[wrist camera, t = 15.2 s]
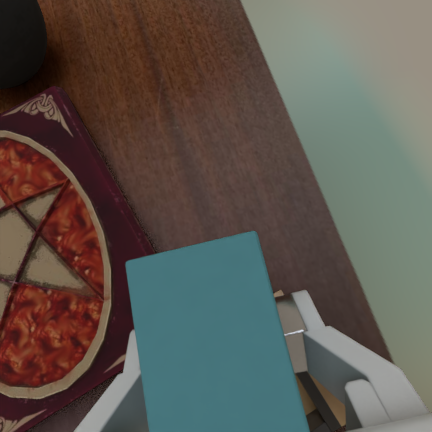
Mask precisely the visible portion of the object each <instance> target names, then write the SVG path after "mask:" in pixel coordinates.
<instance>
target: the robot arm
mask: <svg viewBox="0 0 432 432" xmlns="http://www.w3.org/2000/svg"><path fill="white" fill-rule="evenodd" d="M274 298H275V302H276V305H277V309H278V313H279V317H280V320H281V324H282V328H283V332H284V335H285V339H286V343H287V347H288V350H289V354H290V358H291V362H292V366H293V369H294V373H300V372H305V371H308V373H309V374H310V375H312V376H313V377H314V378H315V379H316V380H317V381H318V382H319V383H320V384H322V385H323V386H324V387H325V388H326V389H327V390H328V391H329V392H330V393H332V394H333V395H334V396H335V397H336V398H337V399H338V400H339V401H340V402H342V403H343V404H344V405H345V414H346V432H432V412H431V413H430V411H429V410H428V409H427V407H426V405H425V404H424V402H423V401H422V399H421V398H420V397H419V395H418V393H417V392H416V390H415V389H414V387H413V386H412V384H411V383H410V382H409V380H408V379H407V377H406V376H405V374H404V373H403V371H402V370H401V369H400V368H399V367H397V366H395V365H394V364H392V363H391V362H389V361H387V360H386V359H384V358H382V357H381V356H379V355H377V354H376V353H374V352H372V351H371V350H369V349H367V348H366V347H364V346H362V345H361V344H359V343H358V342H356V341H354V340H353V339H351V338H349V337H348V336H346V335H344V334H343V333H341V332H339V331H338V330H336V329H334V328H333V327H331V326H327V327H325V325H324V323H323V321H322V319H321V317H320V315H319V313H318V311H317V309H316V307H315V305H314V303H313V301H312V299H311V297H310V296H309V294H308V292H307V291H306V290H302V291H298V292H294V293H291V294H286V295H282V296H278V297H274ZM74 432H149V427H148V420H147V413H146V406H145V399H144V392H143V385H142V378H141V371H140V364H139V357H138V350H137V343H136V336H135V329H134V330H132V331H131V333H130V335H129V341H128V347H127V352H126V358H125V363H124V369H123V373H122V374H118V375H117V377H116V378H115V379H114V381H113V382H112V383H111V384H110V386H109V387H108V388H107V390H106V391H105V392H104V393H103V395H102V396H101V397H100V399H99V400H98V401H97V402H96V404H95V405H94V406H93V408H92V409H91V410H90V411H89V413H88V414H87V415H86V417H85V418H84V419H83V420H82V422H81V423H80V424H79V425H78V427H77V428H76V429H75V431H74Z"/></svg>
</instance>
